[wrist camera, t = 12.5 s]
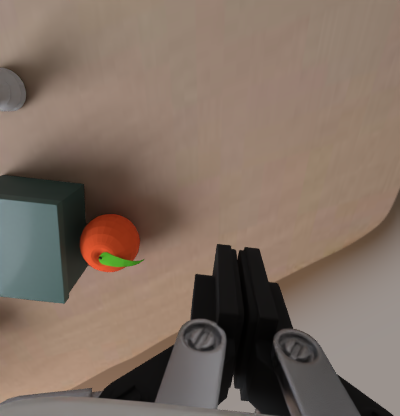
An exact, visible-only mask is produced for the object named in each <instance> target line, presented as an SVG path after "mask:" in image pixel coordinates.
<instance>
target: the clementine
mask: <svg viewBox="0 0 400 416" xmlns="http://www.w3.org/2000/svg"><path fill="white" fill-rule="evenodd" d="M139 244H140V239H139V234H138V232H137V230H136V227H135V226H134V225H133V223H132V222H131V221H129V220H128V219H127V218H125V217H123V216H121V215H116V214H104V215H101V216H98V217H96V218H95V219H93V220H92V221H90V222H89V223H88V224H87V225H86V226H85V228H84V230H83V232H82V234H81V236H80V251H81V254H82V256H83V258H84V260H85V261H86V262H87V263H88V264H89V265H90V266H91V267H93V268H94V269H97V270H99V271H104V272H115V271H119V270H121V269H123V268H125V267H127V266H133V265H136V264H139V263H140V262H142V261H143V260H144V259H143V260H141V261H133V260H134V259H135V257H136V255H137V253H138V250H139Z"/></svg>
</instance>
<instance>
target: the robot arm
mask: <svg viewBox="0 0 400 416" xmlns="http://www.w3.org/2000/svg"><path fill="white" fill-rule="evenodd" d="M233 375H234V386H235V388H237V389H240V394H241V400H242V401H249V402H250V403H251V404H252V405H253V406H254V407H255V408H256V409H255V413H246V412H237V411H228V410H218V409H217V407H218V405H219V404H220V403H221V402H222V401H223V400H225V399H226V398H227V394H228V389H229V388H230V386H231V382H232V377H233ZM0 416H393V415H392V414H391V413H390V412H388V411H387V410H386V409H384V408H383V407H381V406H380V405H379V404H377V403H376V402H374V401H373V400H372V399H370V398H369V397H367V396H366V395H365V394H363V393H362V392H361V391H359V390H358V389H357V388H355V387H354V386H352V385H351V384H350V383H348V382H347V381H346V380H344V379H343V378H341V377H340V376H339V375H337V374H336V372H335V370H334V369H333V367H332V365H331V364H330V362H329V360H328V358H327V357H326V355H325V354H324V352H323V350H322V348H321V347H320V345H319V344H318V343H317V341H316V340H315V339H313V338H312V337H311V336H310V335H308V334H306V333H304V332H302V331H300V330H297V329H293V327H292V324H291V321H290V318H289V315H288V311H287V308H286V305H285V303H284V299H283V296H282V293H281V290H280V287H279V285H278V284H277V283H272V282H268V278H267V275H266V271H265V268H264V264H263V261H262V257H261V253H260V250H259V249H257V248H248V247H245V248H244V251H243V250H240V251H239V254H238V260H237V254H236V250H234V249H231V246H230V245H221V244H217V248H216V254H215V261H214V268H213V275H212V276H209V275H200V274H195V282H194V290H193V299H192V309H191V319H190V321H188V322H186V323H185V324H184V325H182V327H181V328H180V330H179V333H178V336H177V339H176V342H175V344H174V345H173V346H171V347H169V348H168V349H166V350H164V351H163V352H161V353H160V354H158V355H156V356H155V357H153V358H151V359H150V360H148V361H147V362H145V363H143V364H142V365H140V366H139V367H137V368H135V369H133V370H132V371H130V372H129V373H127V374H125V375H124V376H122V377H120V378H119V379H117V380H116V381H114V382H112V383H111V384H110V385H108V386H107V387H106V388H105V389H104V391H99V392H92V388H87V389H78V390H69V391H60V392H51V393H41V394H32V395H23V396H17V397H14V398H10V399H7V400H6V401H4V402H2V403H0Z"/></svg>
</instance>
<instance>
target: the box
mask: <svg viewBox="0 0 400 416" xmlns="http://www.w3.org/2000/svg"><path fill="white" fill-rule="evenodd" d="M85 226H86V223H85V199H84V184H80V183H71V182H62V181H53V180H44V179H35V178H26V177H17V176H8V175H2V176H0V297H9V298H18V299H27V300H36V301H45V302H54V303H63V304H65V302H66V301H67V299H68V298H69V292H70V291H71V289H72V288H73V286H74V285H75V284H76V282H77V281H78V279H79V278H80V276H81V275H82V273H83V272H84V270H85V269H86V267H87V262H86V261H85V260H84V258H83V256H82V254H81V251H80V236H81V234H82V232H83V230H84V228H85Z"/></svg>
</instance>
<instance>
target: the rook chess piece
mask: <svg viewBox="0 0 400 416" xmlns="http://www.w3.org/2000/svg"><path fill="white" fill-rule="evenodd" d="M25 99H26V90H25V87H24V84H23V82H22V81H21V79H20V78H19V76H18V75H16V74H15V73H14V72H13V71H11V70H9V69H6V68H0V110H1V111H16V110H17V109H19V108H21V107H22V106H23V104H24V102H25Z"/></svg>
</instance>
